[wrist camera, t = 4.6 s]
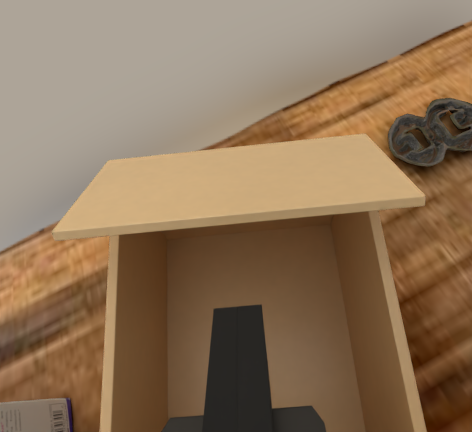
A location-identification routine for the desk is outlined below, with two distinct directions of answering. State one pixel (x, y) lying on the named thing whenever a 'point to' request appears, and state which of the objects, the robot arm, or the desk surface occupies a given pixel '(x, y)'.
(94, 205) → the flap
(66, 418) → the supplement box
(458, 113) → the corroded twin loop
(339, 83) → the desk surface
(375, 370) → the carton
